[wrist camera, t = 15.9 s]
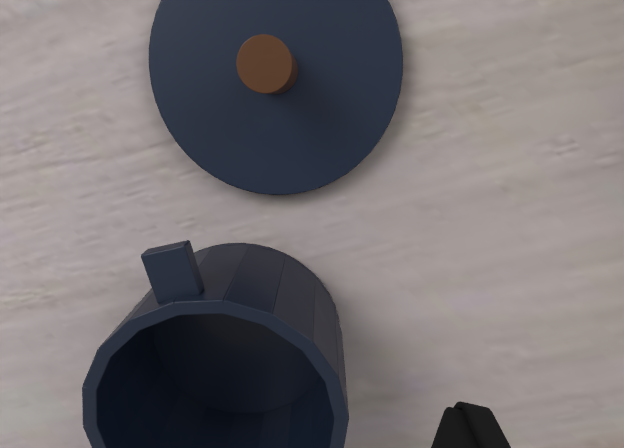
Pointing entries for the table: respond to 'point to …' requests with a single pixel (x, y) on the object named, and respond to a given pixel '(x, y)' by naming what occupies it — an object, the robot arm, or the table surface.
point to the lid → (276, 86)
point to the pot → (221, 357)
